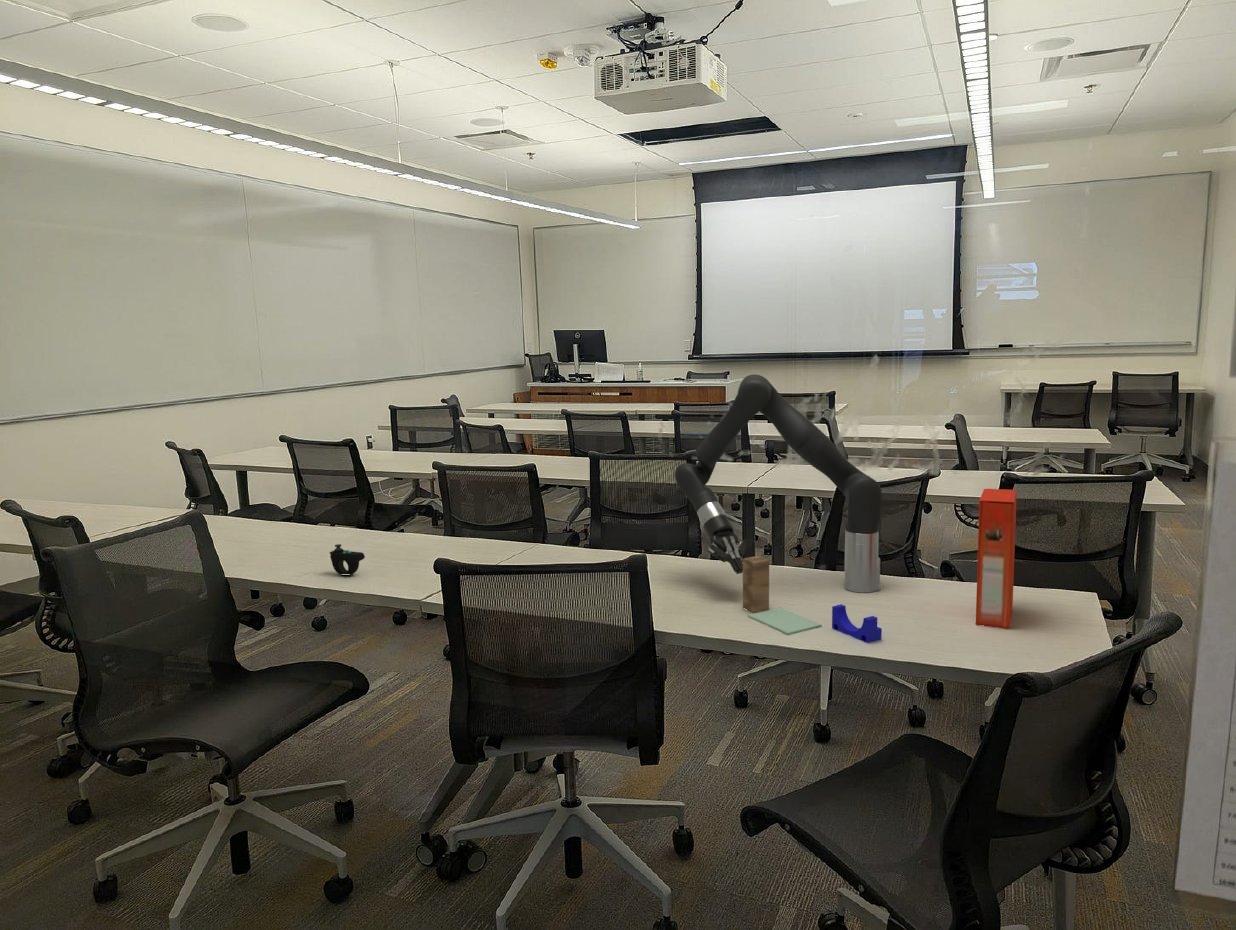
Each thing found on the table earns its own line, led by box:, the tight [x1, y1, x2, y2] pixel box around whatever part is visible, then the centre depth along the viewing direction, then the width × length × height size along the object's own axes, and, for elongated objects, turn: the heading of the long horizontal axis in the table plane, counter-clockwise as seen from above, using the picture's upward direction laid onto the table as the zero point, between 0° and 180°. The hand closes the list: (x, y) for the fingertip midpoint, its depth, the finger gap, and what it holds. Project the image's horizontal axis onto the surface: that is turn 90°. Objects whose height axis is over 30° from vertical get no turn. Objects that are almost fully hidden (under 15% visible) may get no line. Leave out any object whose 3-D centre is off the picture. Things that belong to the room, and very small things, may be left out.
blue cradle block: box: [831, 603, 883, 644], centre depth 197 cm, size 12×4×6 cm, turn 29°
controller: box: [329, 543, 366, 575], centre depth 261 cm, size 4×12×10 cm, turn 67°
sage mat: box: [747, 607, 823, 636], centre depth 208 cm, size 16×11×1 cm
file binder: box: [975, 488, 1018, 630], centre depth 205 cm, size 8×17×32 cm, turn 152°
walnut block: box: [742, 555, 770, 614], centre depth 217 cm, size 5×5×14 cm
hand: (740, 572), depth 222 cm, fingers closed
